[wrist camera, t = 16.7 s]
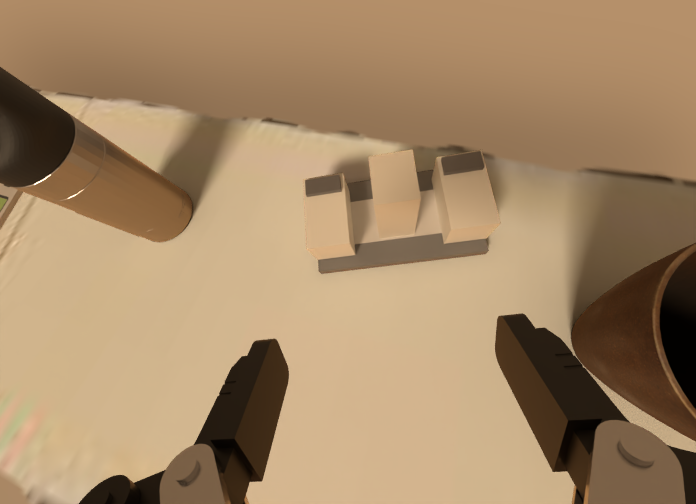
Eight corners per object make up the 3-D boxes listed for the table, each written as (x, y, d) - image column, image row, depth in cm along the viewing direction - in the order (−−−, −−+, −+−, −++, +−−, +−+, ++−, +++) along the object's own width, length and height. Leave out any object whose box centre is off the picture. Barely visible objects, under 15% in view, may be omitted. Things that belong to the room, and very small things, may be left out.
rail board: (321, 273, 38) (305, 260, 31) (316, 193, 42) (301, 166, 35) (485, 254, 36) (506, 234, 29) (465, 170, 39) (480, 135, 32)
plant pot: (572, 251, 34) (712, 185, 19) (718, 327, 30) (1050, 319, 15) (509, 357, 32) (609, 379, 17) (655, 455, 28) (964, 599, 13)
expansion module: (379, 238, 37) (373, 205, 27) (375, 199, 38) (367, 154, 29) (414, 234, 36) (420, 198, 27) (408, 194, 38) (412, 147, 28)
